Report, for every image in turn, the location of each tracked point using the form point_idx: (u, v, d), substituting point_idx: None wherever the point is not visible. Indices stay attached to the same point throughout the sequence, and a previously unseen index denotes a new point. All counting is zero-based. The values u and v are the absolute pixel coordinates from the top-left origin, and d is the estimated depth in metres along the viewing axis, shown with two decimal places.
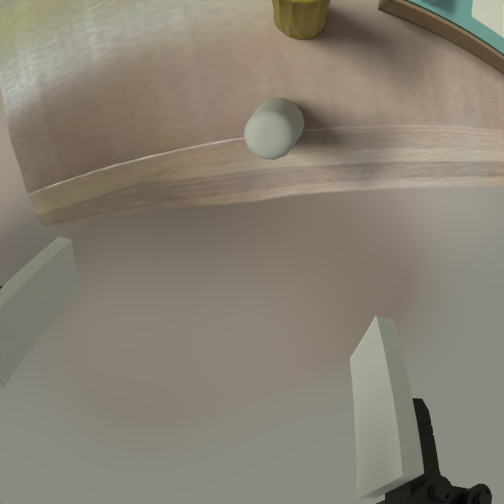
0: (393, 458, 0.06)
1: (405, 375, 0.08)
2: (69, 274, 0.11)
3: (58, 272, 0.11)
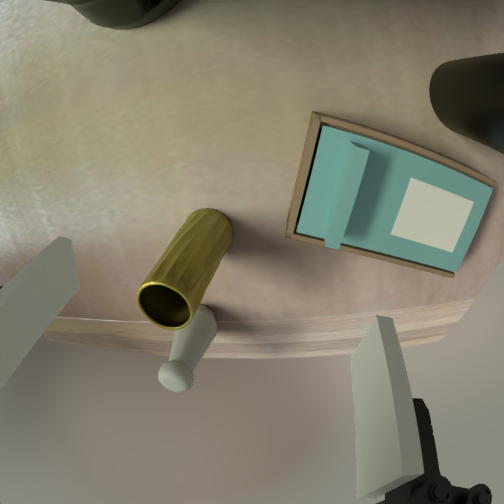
0: (393, 458, 0.06)
1: (405, 376, 0.08)
2: (69, 274, 0.11)
3: (58, 272, 0.11)
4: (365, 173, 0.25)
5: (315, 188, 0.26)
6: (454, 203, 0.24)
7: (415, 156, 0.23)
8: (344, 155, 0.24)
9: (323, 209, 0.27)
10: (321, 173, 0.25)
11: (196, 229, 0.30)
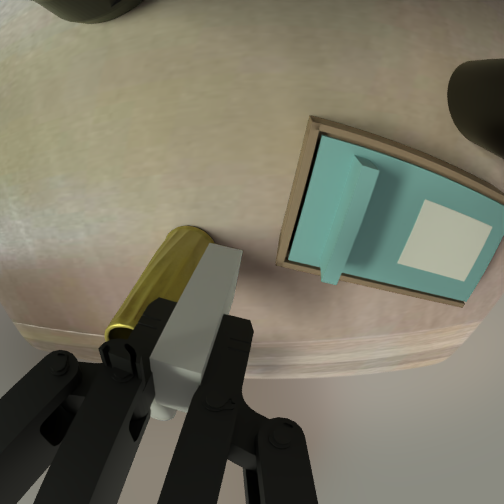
0: None
1: (228, 292, 0.11)
2: None
3: None
4: (371, 194, 0.21)
5: (311, 211, 0.22)
6: (471, 228, 0.20)
7: (431, 174, 0.19)
8: (346, 173, 0.20)
9: (320, 234, 0.23)
10: (319, 193, 0.21)
11: (174, 253, 0.27)
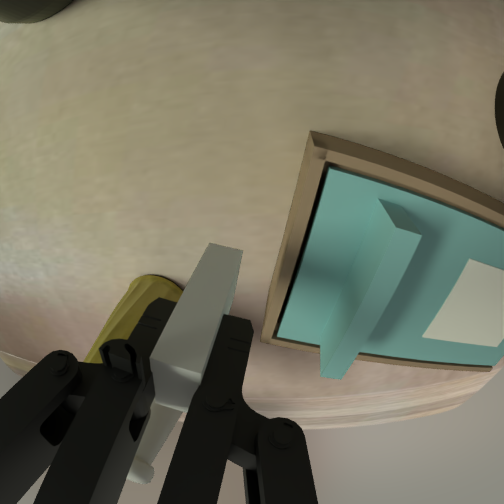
0: None
1: (228, 292, 0.11)
2: None
3: None
4: None
5: (310, 278, 0.15)
6: None
7: (482, 224, 0.12)
8: (365, 225, 0.13)
9: (322, 308, 0.16)
10: (322, 255, 0.14)
11: (131, 318, 0.20)
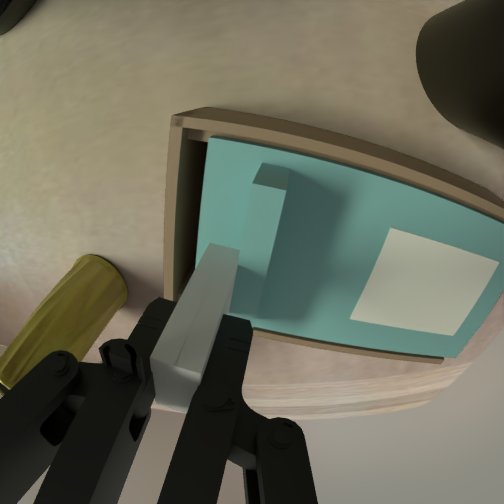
0: None
1: (228, 292, 0.11)
2: None
3: None
4: (298, 223, 0.14)
5: None
6: (467, 267, 0.13)
7: (401, 187, 0.12)
8: None
9: None
10: (215, 225, 0.15)
11: (64, 291, 0.20)
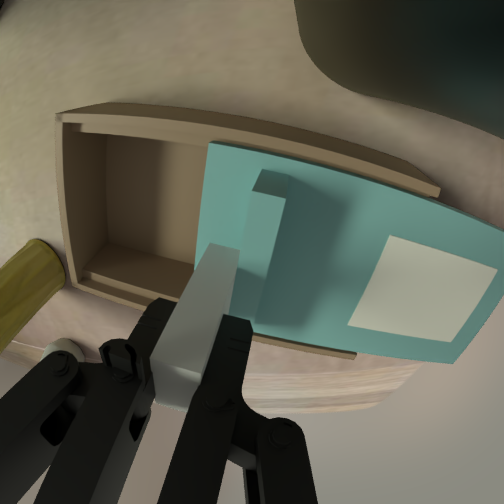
0: None
1: (228, 292, 0.11)
2: None
3: None
4: (297, 229, 0.14)
5: None
6: (465, 274, 0.14)
7: (401, 194, 0.12)
8: None
9: None
10: (214, 230, 0.15)
11: (8, 268, 0.20)
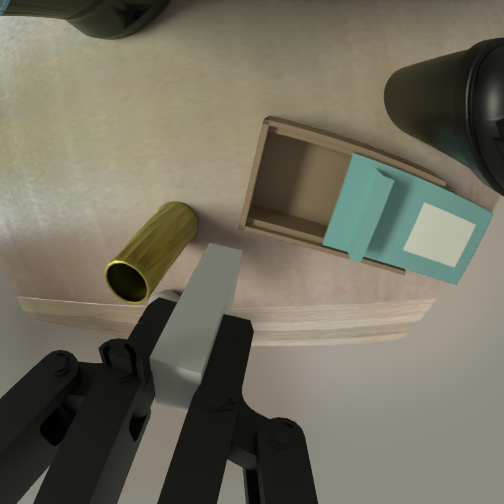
0: None
1: (229, 293, 0.11)
2: None
3: None
4: None
5: (342, 207, 0.30)
6: (459, 225, 0.28)
7: (429, 184, 0.27)
8: (369, 180, 0.28)
9: (348, 225, 0.30)
10: (349, 195, 0.29)
11: (162, 219, 0.34)
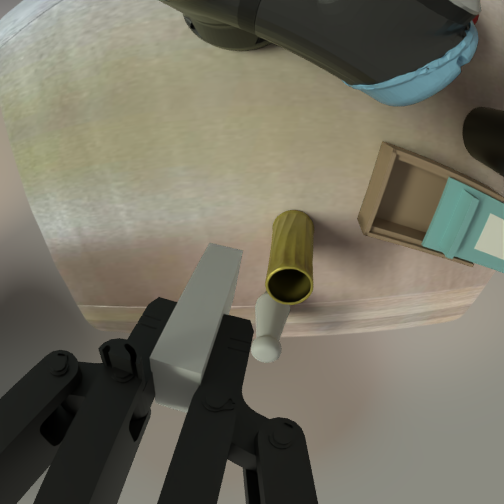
0: None
1: (228, 292, 0.11)
2: None
3: None
4: None
5: (439, 218, 0.34)
6: None
7: (494, 200, 0.31)
8: (458, 198, 0.32)
9: (441, 231, 0.35)
10: (444, 208, 0.34)
11: (295, 227, 0.39)
